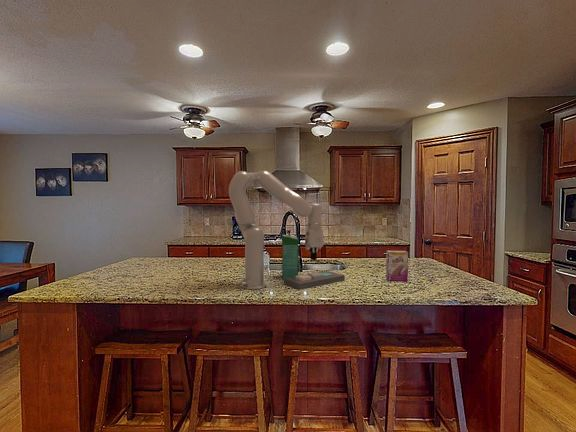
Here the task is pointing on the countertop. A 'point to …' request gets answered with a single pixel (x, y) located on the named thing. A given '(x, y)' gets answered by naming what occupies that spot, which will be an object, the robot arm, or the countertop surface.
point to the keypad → (314, 281)
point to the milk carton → (289, 256)
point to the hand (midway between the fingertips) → (313, 259)
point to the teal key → (326, 274)
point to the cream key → (303, 277)
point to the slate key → (315, 275)
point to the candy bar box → (397, 266)
